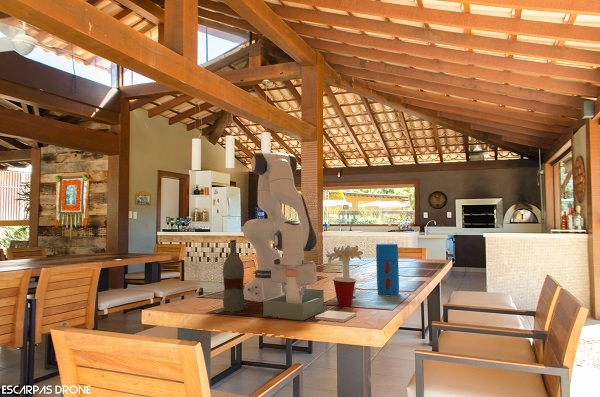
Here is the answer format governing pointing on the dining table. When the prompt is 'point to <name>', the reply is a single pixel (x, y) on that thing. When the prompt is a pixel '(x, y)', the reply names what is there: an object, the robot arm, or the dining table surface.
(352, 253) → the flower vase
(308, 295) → the grey open box
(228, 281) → the bottle
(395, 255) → the blue tall boxy piece
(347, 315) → the ceramic tile
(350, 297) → the plastic cup
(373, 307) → the dining table surface
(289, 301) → the pepper shaker
